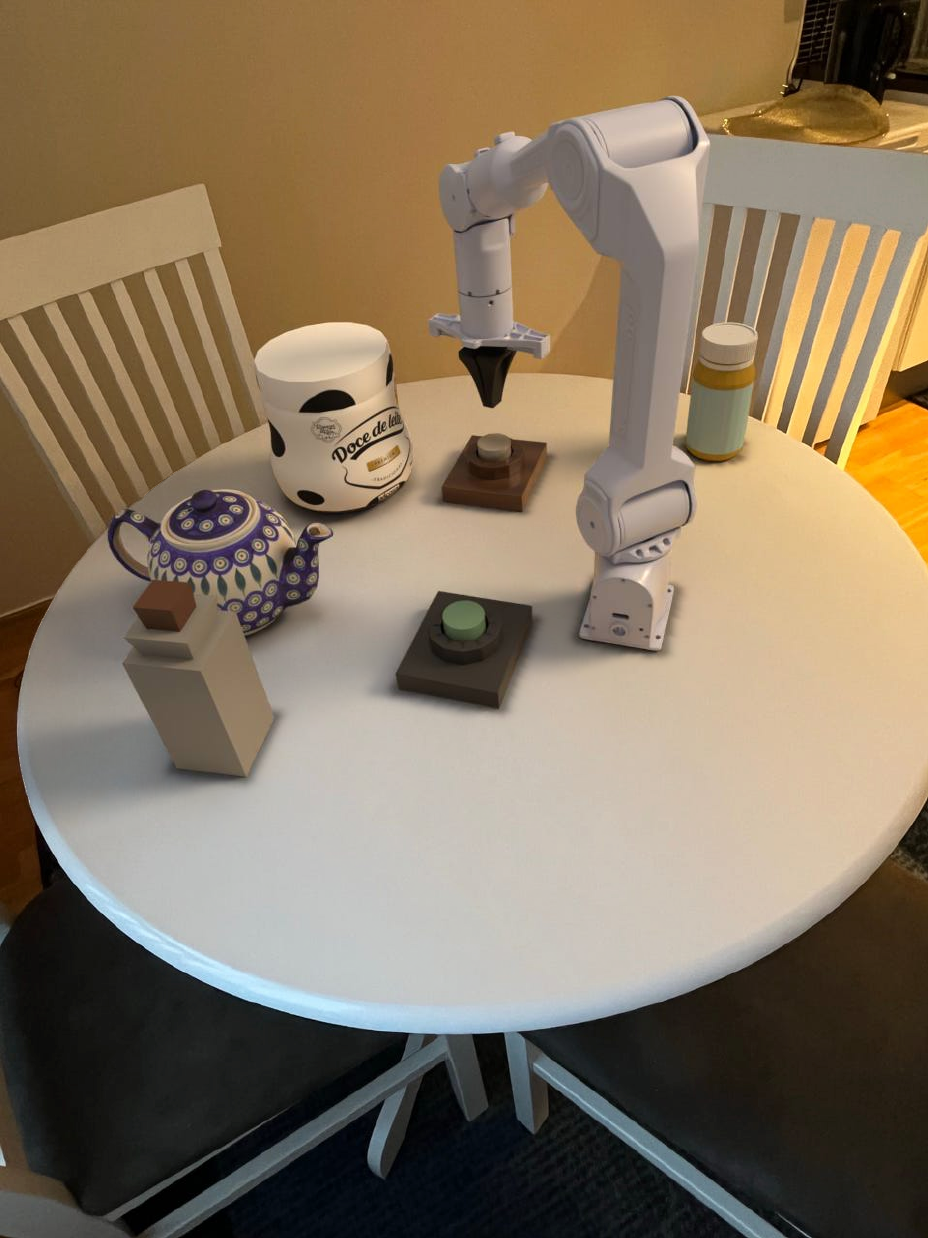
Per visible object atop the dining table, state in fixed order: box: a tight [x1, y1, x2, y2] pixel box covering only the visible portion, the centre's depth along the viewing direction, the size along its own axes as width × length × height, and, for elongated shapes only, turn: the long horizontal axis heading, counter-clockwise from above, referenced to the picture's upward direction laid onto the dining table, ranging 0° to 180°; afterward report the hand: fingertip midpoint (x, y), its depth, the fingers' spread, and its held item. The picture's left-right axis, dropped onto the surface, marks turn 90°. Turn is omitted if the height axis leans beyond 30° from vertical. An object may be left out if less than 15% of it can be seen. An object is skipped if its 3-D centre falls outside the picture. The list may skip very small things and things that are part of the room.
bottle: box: [685, 321, 759, 462], centre depth 100 cm, size 7×7×15 cm
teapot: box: [107, 488, 334, 636], centre depth 85 cm, size 25×15×15 cm, turn 76°
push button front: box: [395, 590, 534, 709], centre depth 80 cm, size 12×10×4 cm
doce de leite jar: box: [253, 321, 414, 514], centre depth 99 cm, size 17×17×18 cm
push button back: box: [440, 435, 548, 512], centre depth 102 cm, size 12×10×4 cm
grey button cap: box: [478, 432, 511, 462], centre depth 101 cm, size 4×4×2 cm
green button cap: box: [442, 601, 486, 642], centre depth 79 cm, size 4×4×2 cm
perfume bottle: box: [121, 580, 275, 778], centre depth 70 cm, size 7×7×18 cm
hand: (492, 403), depth 97 cm, fingers closed
